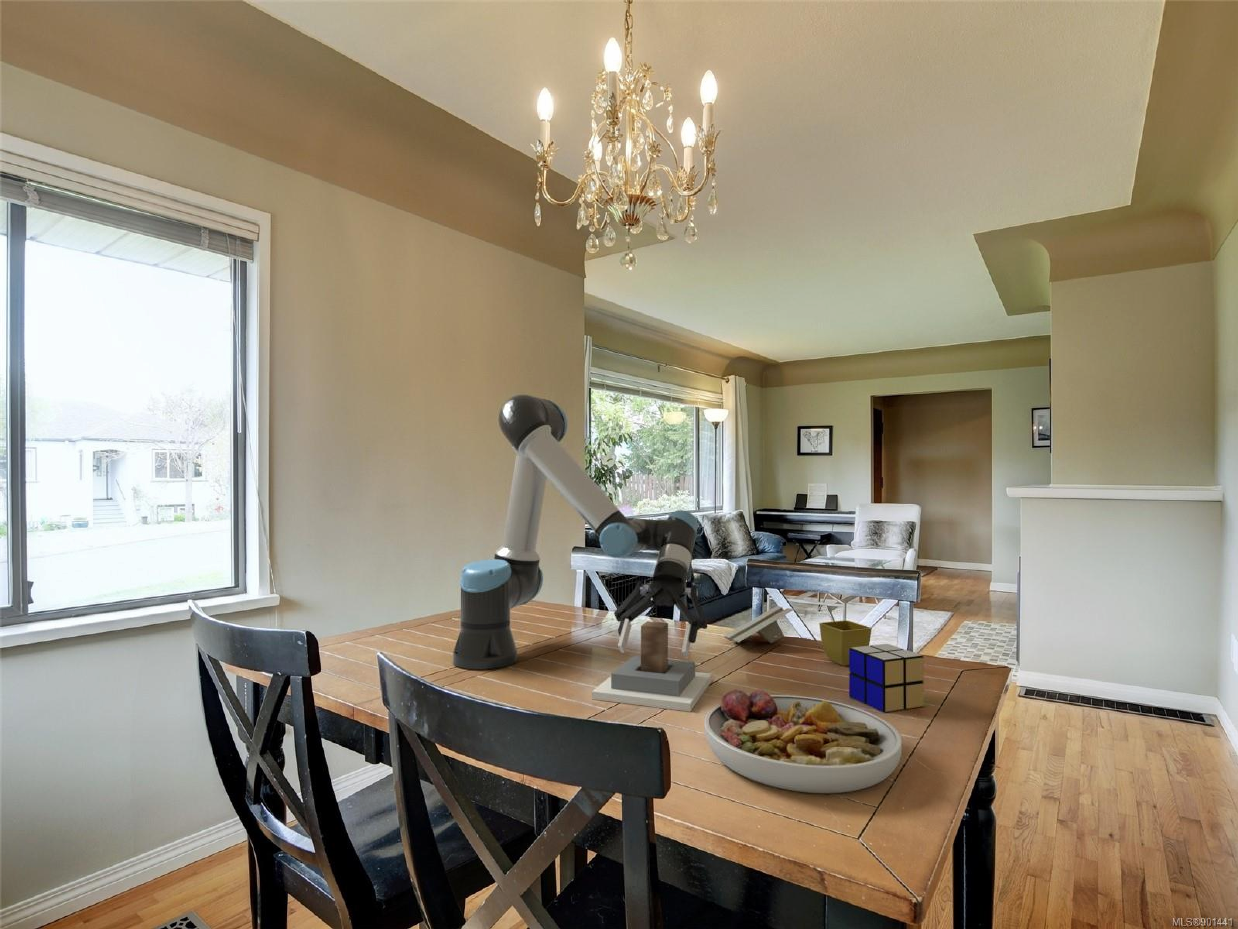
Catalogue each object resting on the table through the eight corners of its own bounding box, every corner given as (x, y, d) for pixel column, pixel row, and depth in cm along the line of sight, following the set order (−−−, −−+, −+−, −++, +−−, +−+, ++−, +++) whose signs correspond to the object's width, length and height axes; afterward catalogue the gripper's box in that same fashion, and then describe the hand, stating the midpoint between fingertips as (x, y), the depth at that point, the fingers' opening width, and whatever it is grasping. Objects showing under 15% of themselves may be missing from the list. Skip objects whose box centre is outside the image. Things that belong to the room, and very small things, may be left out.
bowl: (928, 755, 106) (928, 705, 106) (854, 828, 84) (854, 766, 84) (763, 710, 126) (763, 668, 126) (667, 760, 104) (667, 709, 104)
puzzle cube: (848, 697, 133) (848, 647, 134) (887, 691, 137) (887, 643, 137) (884, 714, 124) (883, 660, 124) (925, 707, 127) (925, 655, 128)
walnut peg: (640, 684, 136) (640, 625, 136) (647, 678, 140) (647, 621, 140) (661, 686, 134) (661, 627, 135) (667, 680, 139) (667, 623, 139)
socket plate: (591, 699, 131) (591, 676, 131) (625, 671, 150) (625, 651, 150) (690, 711, 124) (690, 687, 124) (711, 680, 143) (711, 660, 143)
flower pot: (872, 666, 155) (872, 627, 155) (843, 669, 152) (842, 630, 152) (847, 656, 163) (847, 620, 163) (818, 660, 160) (818, 622, 160)
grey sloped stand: (764, 672, 165) (812, 625, 167) (737, 642, 166) (785, 596, 168) (747, 663, 183) (790, 621, 186) (723, 636, 184) (766, 594, 187)
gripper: (728, 582, 148) (714, 667, 134) (624, 576, 157) (600, 655, 142) (724, 561, 143) (709, 648, 129) (616, 556, 152) (591, 636, 137)
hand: (652, 652), depth 136 cm, fingers open, 13 cm apart
